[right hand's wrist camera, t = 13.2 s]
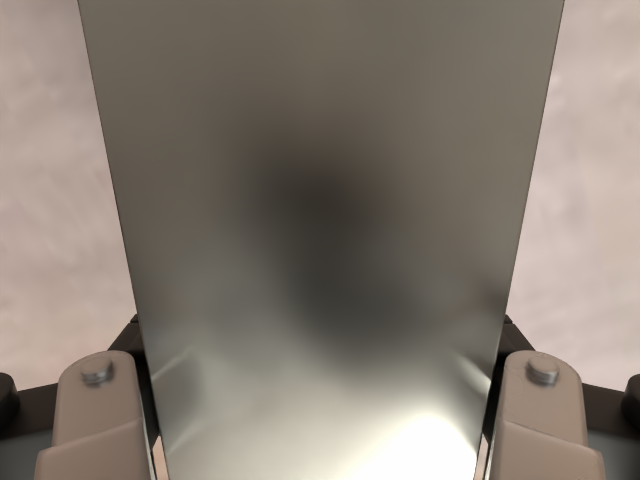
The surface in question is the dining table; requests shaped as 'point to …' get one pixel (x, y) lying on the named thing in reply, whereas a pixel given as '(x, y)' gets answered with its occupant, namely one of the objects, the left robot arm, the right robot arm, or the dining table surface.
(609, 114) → the dining table surface
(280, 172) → the box
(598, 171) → the dining table surface
